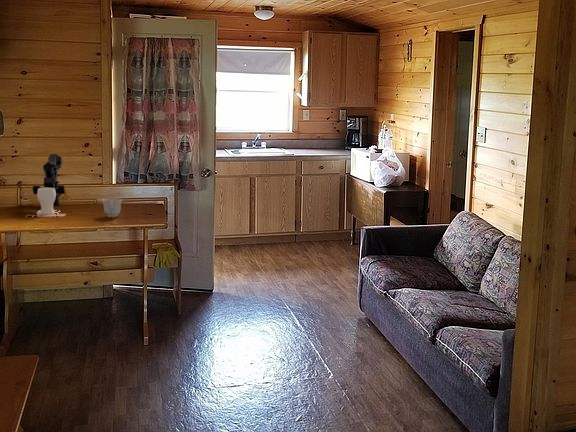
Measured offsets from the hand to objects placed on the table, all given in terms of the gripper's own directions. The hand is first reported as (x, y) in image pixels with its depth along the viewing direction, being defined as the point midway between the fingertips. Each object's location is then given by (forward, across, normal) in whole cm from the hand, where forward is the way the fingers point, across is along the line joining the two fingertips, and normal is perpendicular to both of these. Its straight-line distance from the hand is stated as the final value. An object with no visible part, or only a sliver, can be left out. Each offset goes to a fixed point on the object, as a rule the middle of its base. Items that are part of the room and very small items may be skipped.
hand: (48, 200), depth 431 cm
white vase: (+9, 0, 0) cm, 9 cm away
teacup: (+20, +39, -10) cm, 45 cm away
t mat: (+9, 0, 0) cm, 9 cm away
